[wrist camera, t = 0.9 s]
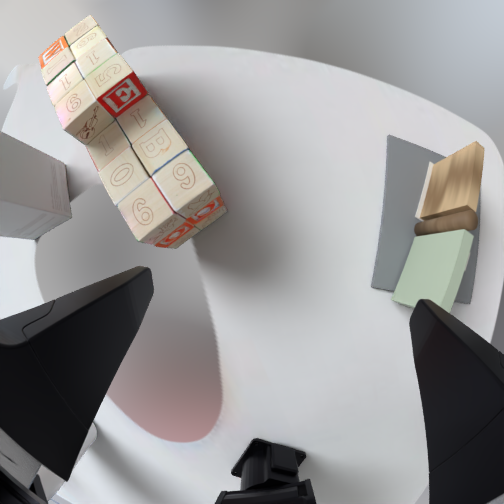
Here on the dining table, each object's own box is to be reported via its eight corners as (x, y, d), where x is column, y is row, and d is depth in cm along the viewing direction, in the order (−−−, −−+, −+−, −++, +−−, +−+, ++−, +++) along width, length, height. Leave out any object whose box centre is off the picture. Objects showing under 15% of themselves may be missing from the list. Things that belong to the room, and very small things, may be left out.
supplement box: (66, 161, 26) (-6, 123, 14) (73, 219, 26) (-11, 199, 13) (26, 187, 26) (-44, 164, 14) (32, 241, 26) (-46, 234, 14)
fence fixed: (423, 240, 25) (476, 233, 17) (412, 233, 25) (463, 224, 17) (441, 171, 25) (488, 148, 17) (431, 164, 25) (477, 138, 17)
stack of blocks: (230, 211, 26) (207, 169, 14) (176, 250, 26) (112, 242, 14) (133, 76, 27) (90, 12, 14) (92, 107, 27) (36, 55, 14)
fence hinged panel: (414, 236, 25) (464, 228, 17) (423, 242, 25) (473, 236, 17) (390, 299, 24) (437, 313, 16) (399, 304, 24) (447, 318, 16)
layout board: (468, 303, 25) (470, 303, 24) (371, 286, 25) (373, 287, 25) (477, 174, 25) (479, 173, 25) (387, 136, 26) (389, 134, 25)
